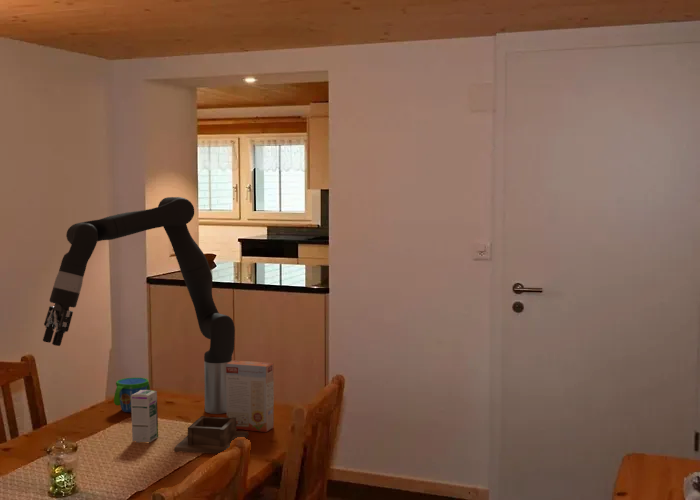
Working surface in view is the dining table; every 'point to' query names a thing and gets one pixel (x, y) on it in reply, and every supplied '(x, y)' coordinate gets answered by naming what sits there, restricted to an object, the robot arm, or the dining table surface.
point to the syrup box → (144, 416)
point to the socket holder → (210, 435)
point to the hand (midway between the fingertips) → (51, 343)
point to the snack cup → (128, 391)
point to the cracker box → (250, 394)
